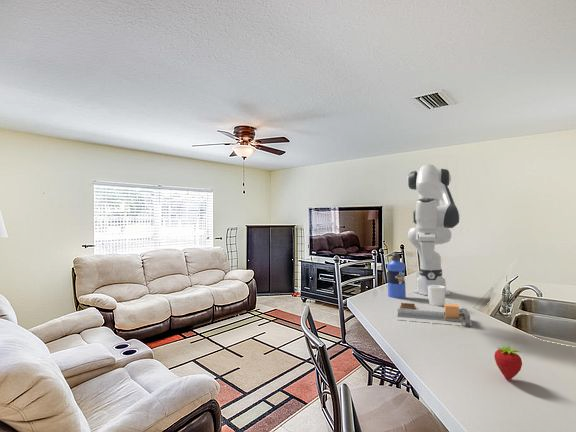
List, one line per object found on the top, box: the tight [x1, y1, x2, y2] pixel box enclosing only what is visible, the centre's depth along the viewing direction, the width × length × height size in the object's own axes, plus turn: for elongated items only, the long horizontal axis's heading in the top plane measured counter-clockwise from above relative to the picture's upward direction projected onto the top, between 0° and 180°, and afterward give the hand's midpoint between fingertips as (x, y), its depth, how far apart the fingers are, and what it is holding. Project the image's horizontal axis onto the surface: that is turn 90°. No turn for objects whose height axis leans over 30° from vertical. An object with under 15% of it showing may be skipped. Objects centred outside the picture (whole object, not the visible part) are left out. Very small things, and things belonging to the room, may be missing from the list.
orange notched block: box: [443, 302, 460, 318], centre depth 131 cm, size 5×5×6 cm
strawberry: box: [493, 342, 523, 381], centre depth 83 cm, size 6×8×10 cm
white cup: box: [427, 285, 446, 307], centre depth 153 cm, size 8×8×10 cm
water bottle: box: [386, 252, 407, 299], centre depth 171 cm, size 9×9×25 cm
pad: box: [399, 302, 417, 310], centre depth 148 cm, size 7×7×4 cm
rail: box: [396, 307, 473, 328], centre depth 134 cm, size 10×28×4 cm, turn 68°
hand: (427, 267), depth 135 cm, fingers closed
